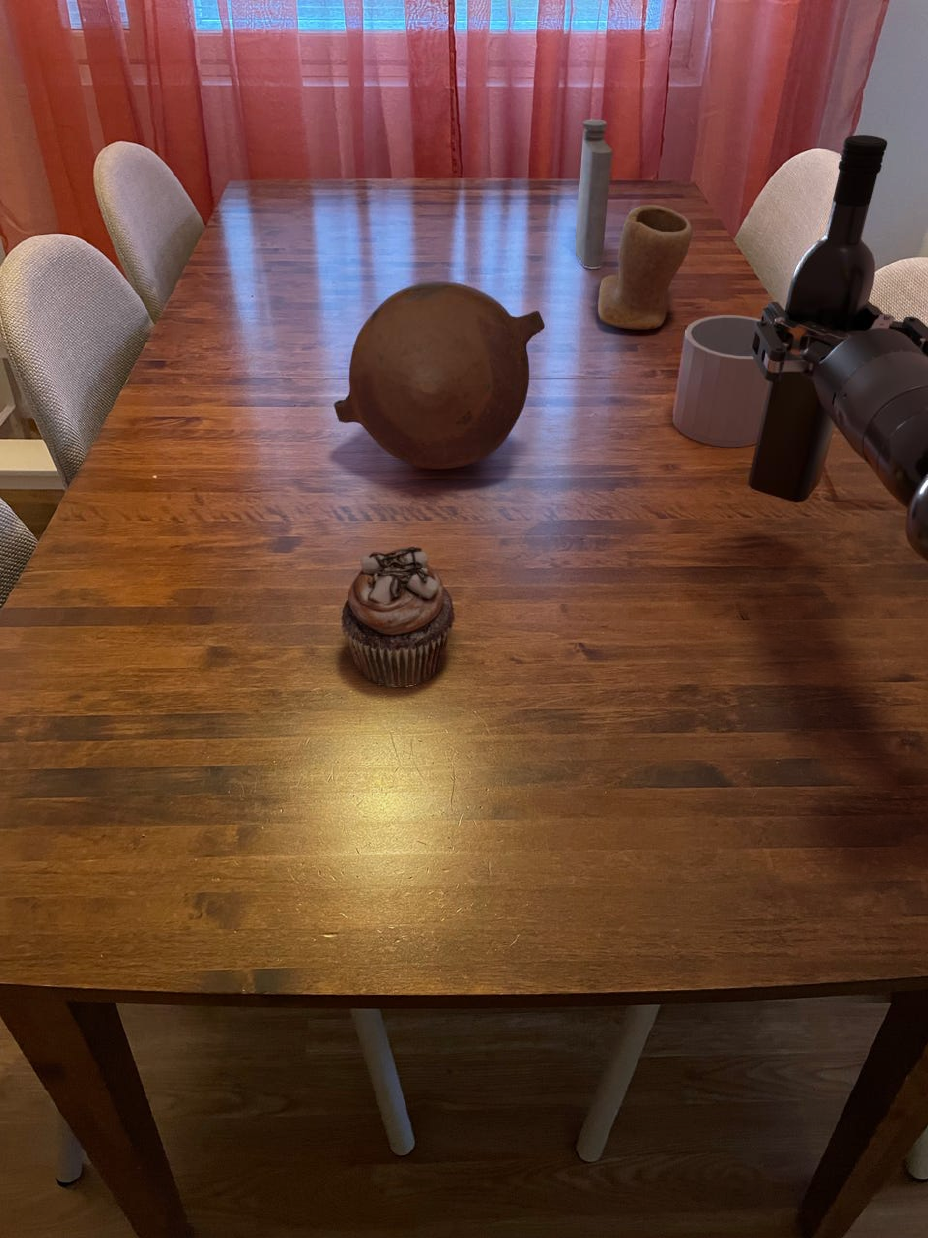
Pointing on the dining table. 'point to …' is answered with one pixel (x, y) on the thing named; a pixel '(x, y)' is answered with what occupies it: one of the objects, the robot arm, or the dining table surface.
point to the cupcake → (398, 618)
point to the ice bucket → (720, 383)
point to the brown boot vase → (644, 268)
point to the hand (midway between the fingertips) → (813, 311)
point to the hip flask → (593, 194)
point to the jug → (439, 374)
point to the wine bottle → (833, 298)
